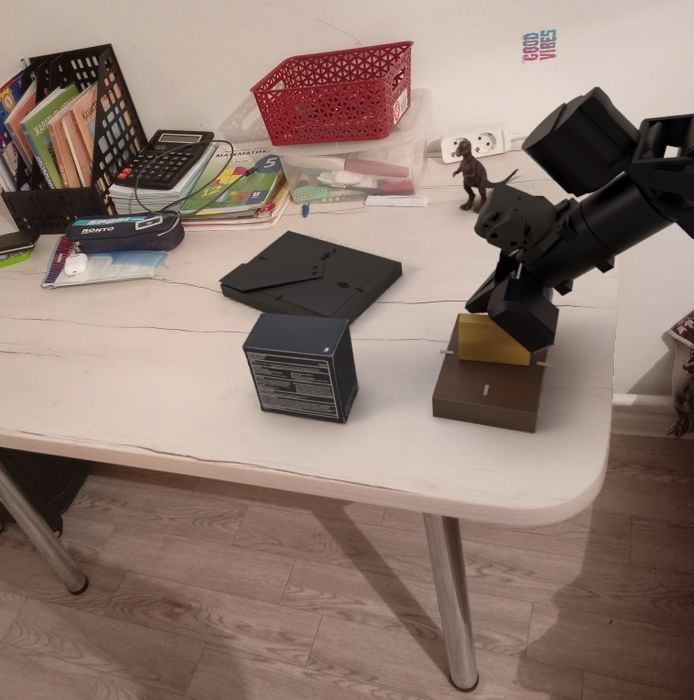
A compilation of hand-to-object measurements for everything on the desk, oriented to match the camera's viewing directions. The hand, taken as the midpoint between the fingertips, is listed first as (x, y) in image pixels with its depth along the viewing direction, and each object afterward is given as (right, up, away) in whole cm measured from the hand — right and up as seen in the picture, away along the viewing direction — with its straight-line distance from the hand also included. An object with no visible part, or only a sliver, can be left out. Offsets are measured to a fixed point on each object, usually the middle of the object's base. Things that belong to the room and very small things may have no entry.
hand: (468, 308), depth 66 cm
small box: (-16, -10, +7) cm, 20 cm away
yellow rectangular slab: (+3, -5, 0) cm, 6 cm away
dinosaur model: (+14, +19, +29) cm, 37 cm away
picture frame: (-14, +5, +23) cm, 27 cm away
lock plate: (+4, -8, +2) cm, 9 cm away
